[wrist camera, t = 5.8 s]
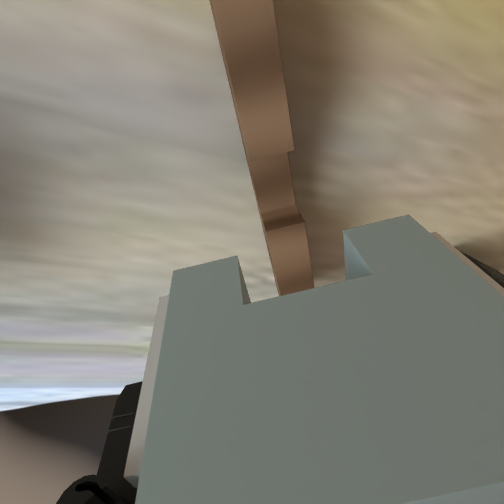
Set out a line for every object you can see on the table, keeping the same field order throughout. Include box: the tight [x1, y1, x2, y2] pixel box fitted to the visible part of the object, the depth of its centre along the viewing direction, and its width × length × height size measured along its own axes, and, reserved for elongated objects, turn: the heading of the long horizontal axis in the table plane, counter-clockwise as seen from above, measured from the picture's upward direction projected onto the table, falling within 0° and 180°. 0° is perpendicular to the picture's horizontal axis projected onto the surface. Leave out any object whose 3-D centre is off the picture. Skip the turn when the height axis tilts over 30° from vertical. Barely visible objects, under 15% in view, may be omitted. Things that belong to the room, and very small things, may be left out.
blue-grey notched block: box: [135, 215, 504, 504], centre depth 11 cm, size 4×10×9 cm, turn 102°
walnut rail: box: [210, 0, 314, 296], centre depth 25 cm, size 28×3×6 cm, turn 13°
